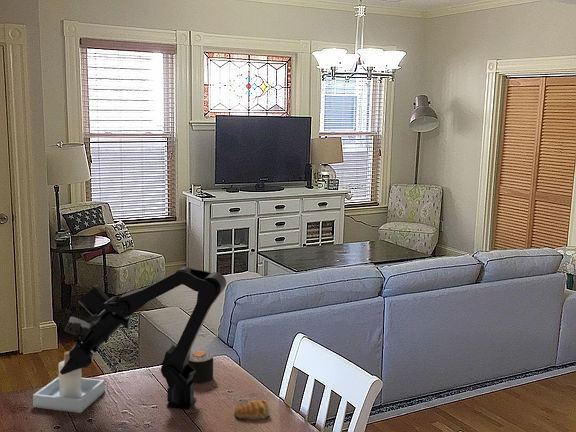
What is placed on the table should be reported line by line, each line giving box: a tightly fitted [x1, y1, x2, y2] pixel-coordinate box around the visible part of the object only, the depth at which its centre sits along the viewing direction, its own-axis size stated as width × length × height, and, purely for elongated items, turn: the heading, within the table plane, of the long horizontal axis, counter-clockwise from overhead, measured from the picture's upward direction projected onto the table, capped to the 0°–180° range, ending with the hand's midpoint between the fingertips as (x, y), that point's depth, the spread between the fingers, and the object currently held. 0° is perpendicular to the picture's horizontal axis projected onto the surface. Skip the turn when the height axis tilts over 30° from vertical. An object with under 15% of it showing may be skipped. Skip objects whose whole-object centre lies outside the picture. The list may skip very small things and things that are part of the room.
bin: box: [32, 376, 106, 414], centre depth 182 cm, size 14×14×4 cm
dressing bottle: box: [58, 350, 83, 399], centre depth 181 cm, size 6×6×13 cm
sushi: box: [188, 350, 214, 384], centre depth 198 cm, size 8×8×8 cm
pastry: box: [233, 399, 271, 419], centre depth 176 cm, size 9×7×4 cm
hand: (64, 366), depth 181 cm, fingers open, 9 cm apart
